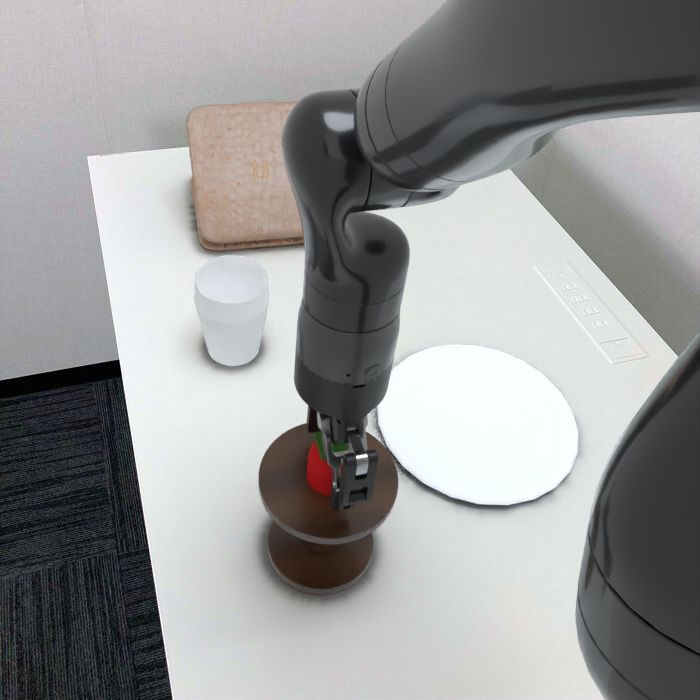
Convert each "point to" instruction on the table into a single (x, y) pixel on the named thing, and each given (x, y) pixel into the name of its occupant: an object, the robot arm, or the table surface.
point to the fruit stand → (319, 517)
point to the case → (241, 176)
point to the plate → (478, 425)
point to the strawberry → (321, 465)
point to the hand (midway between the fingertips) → (329, 465)
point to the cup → (232, 307)
